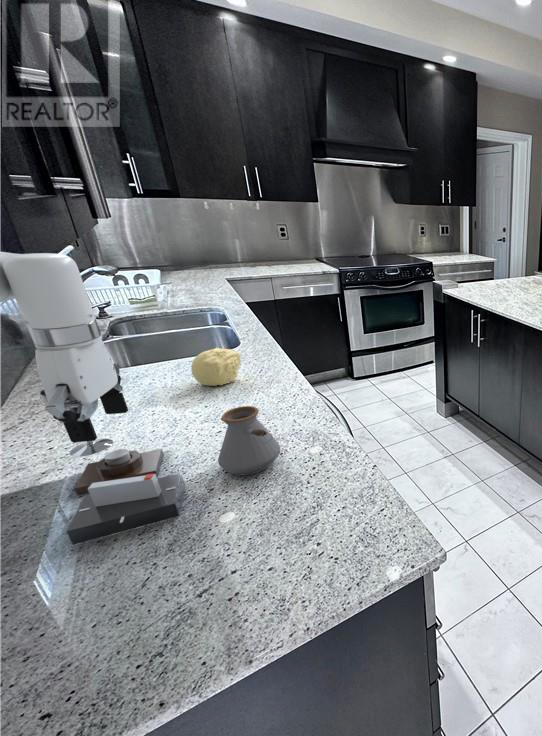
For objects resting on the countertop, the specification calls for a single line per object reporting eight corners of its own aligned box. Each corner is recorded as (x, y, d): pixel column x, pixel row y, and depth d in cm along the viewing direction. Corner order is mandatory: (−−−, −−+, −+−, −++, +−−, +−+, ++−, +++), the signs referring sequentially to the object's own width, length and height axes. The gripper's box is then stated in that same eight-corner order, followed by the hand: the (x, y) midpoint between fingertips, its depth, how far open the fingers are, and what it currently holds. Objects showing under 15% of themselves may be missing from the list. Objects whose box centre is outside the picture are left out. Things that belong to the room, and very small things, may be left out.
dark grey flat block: (69, 552, 66) (62, 537, 64) (92, 502, 76) (87, 489, 75) (178, 521, 73) (173, 508, 72) (186, 480, 83) (182, 467, 82)
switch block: (77, 495, 77) (70, 480, 76) (90, 470, 84) (84, 456, 83) (157, 477, 83) (152, 463, 82) (164, 454, 90) (159, 441, 89)
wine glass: (57, 453, 89) (30, 392, 83) (101, 435, 96) (78, 378, 90) (82, 460, 87) (55, 399, 81) (124, 442, 94) (102, 383, 88)
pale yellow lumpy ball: (226, 390, 120) (218, 357, 116) (186, 388, 120) (177, 354, 116) (250, 375, 131) (243, 344, 127) (213, 373, 131) (205, 342, 127)
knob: (95, 507, 71) (86, 487, 69) (100, 501, 72) (91, 481, 71) (158, 496, 74) (151, 478, 72) (161, 491, 75) (155, 472, 74)
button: (105, 468, 80) (102, 461, 80) (109, 459, 83) (106, 451, 83) (129, 463, 82) (126, 456, 82) (132, 454, 85) (130, 447, 84)
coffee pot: (214, 463, 88) (197, 402, 83) (271, 443, 96) (259, 387, 91) (246, 513, 75) (228, 445, 70) (309, 486, 83) (298, 422, 78)
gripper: (72, 319, 71) (104, 405, 78) (-9, 353, 56) (39, 456, 63) (124, 318, 73) (151, 402, 80) (60, 350, 58) (100, 450, 65)
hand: (102, 426), depth 71 cm, fingers open, 9 cm apart
